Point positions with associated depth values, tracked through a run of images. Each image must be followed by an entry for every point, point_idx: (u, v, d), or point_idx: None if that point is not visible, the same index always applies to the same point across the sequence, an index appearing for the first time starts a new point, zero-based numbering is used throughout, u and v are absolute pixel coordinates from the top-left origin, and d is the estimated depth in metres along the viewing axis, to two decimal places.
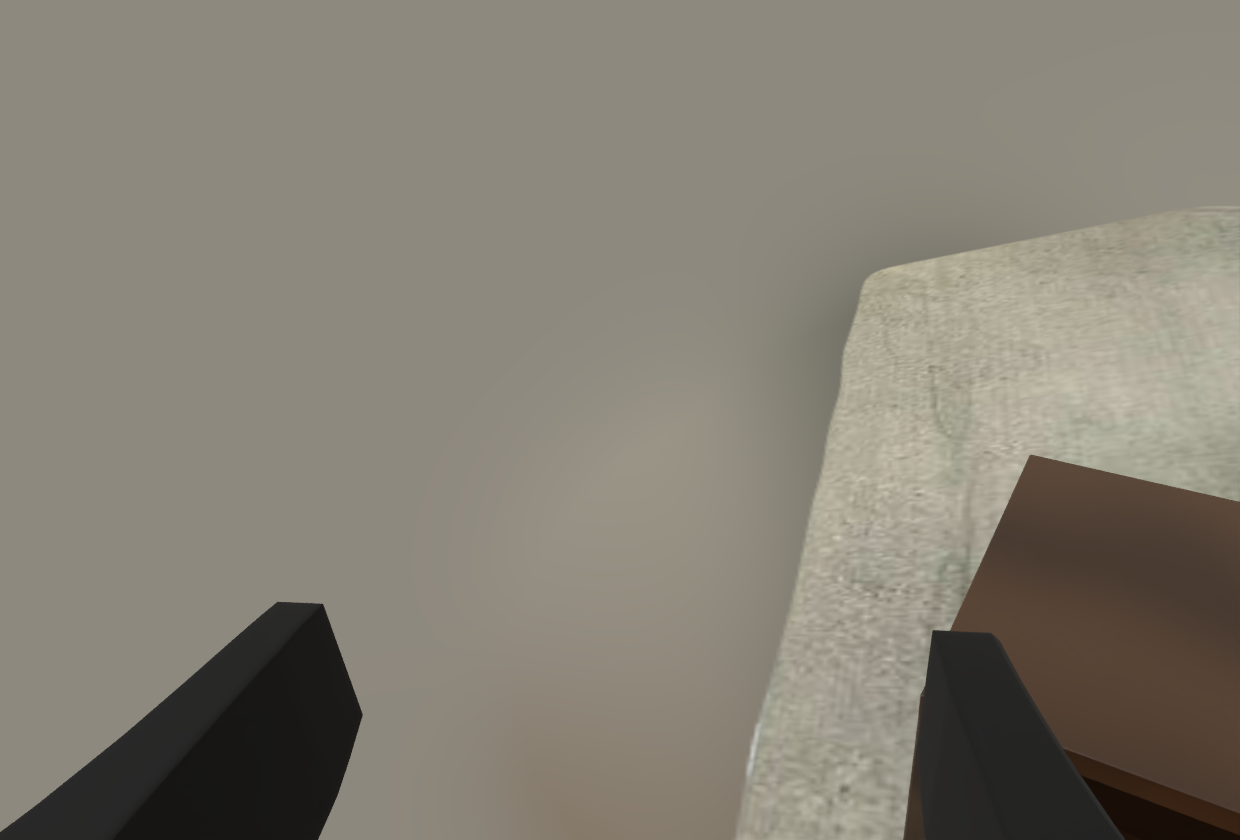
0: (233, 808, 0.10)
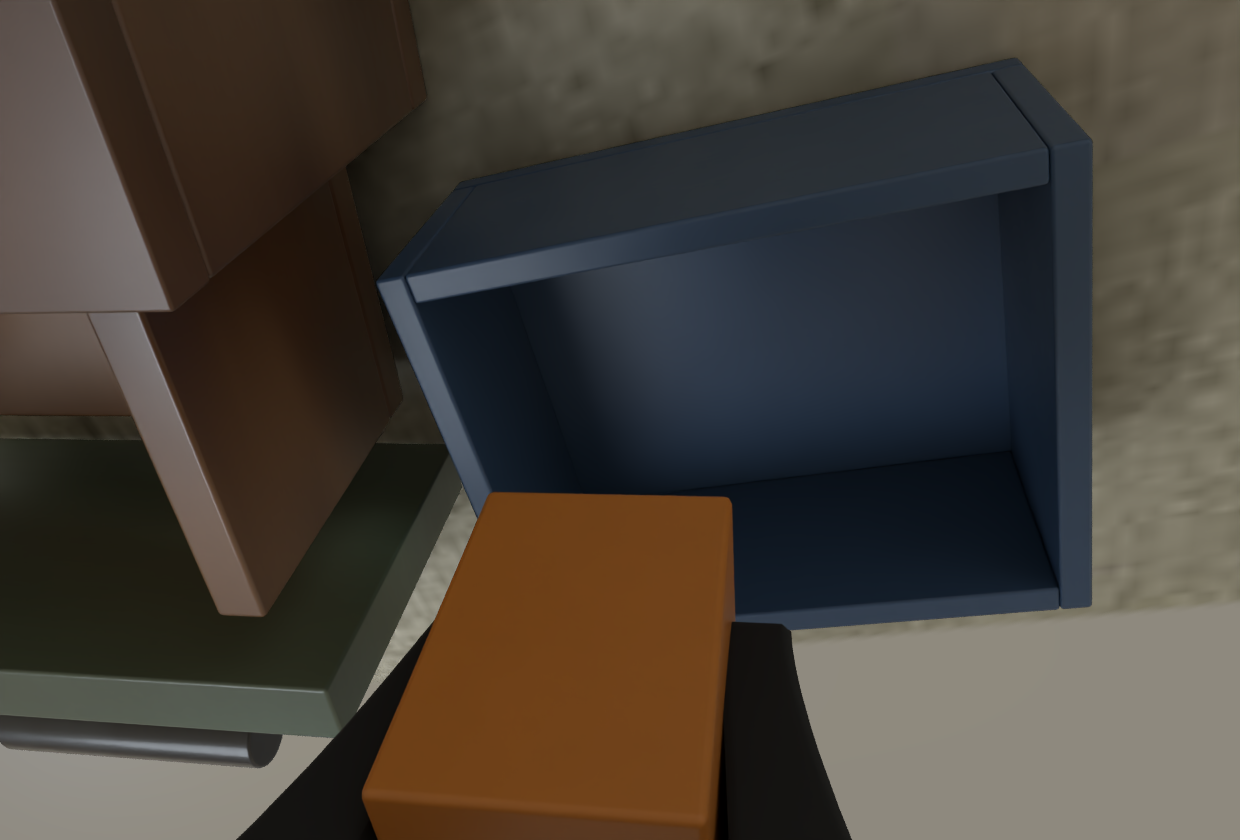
0: None
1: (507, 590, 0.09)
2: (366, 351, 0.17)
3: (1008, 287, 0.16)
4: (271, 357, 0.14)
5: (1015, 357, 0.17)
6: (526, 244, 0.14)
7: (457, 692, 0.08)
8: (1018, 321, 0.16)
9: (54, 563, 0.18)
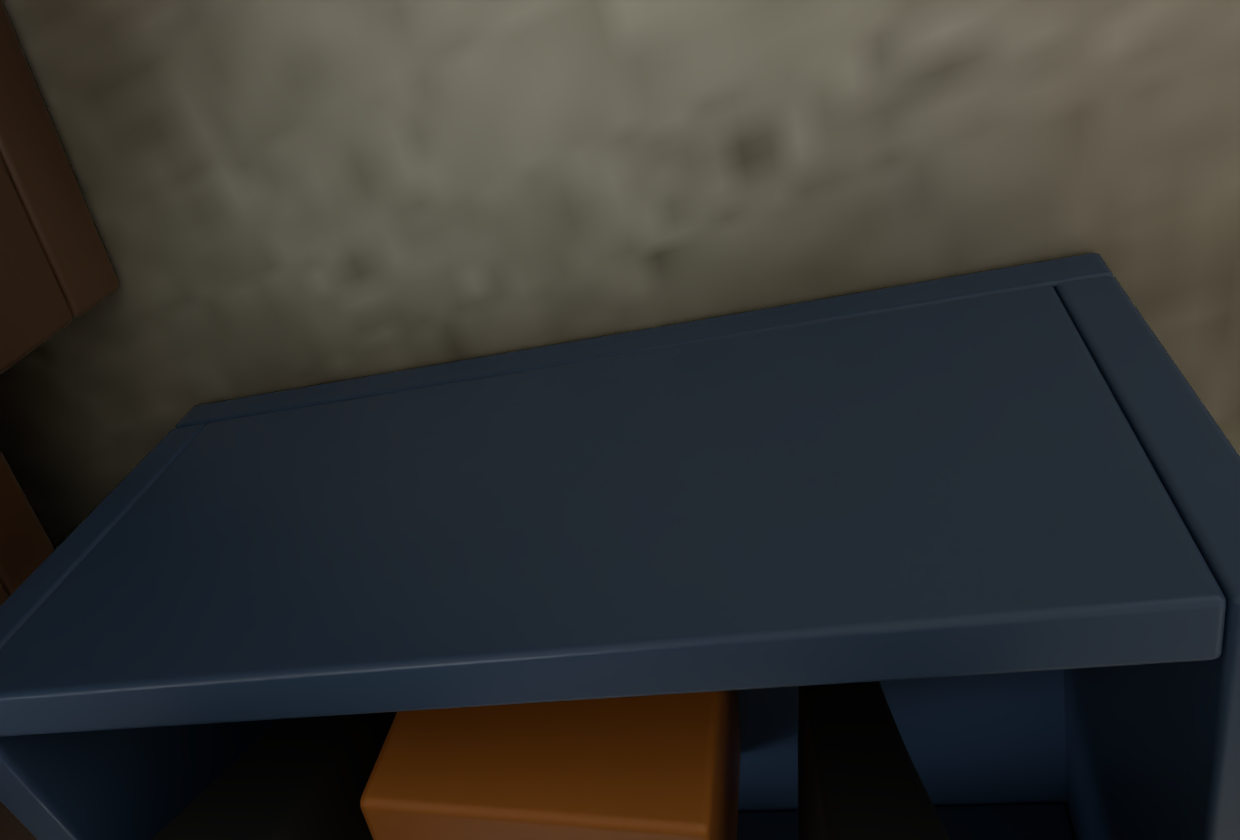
0: (361, 818, 0.09)
1: None
2: None
3: None
4: None
5: (1084, 722, 0.10)
6: (168, 656, 0.07)
7: None
8: (1096, 696, 0.09)
9: None
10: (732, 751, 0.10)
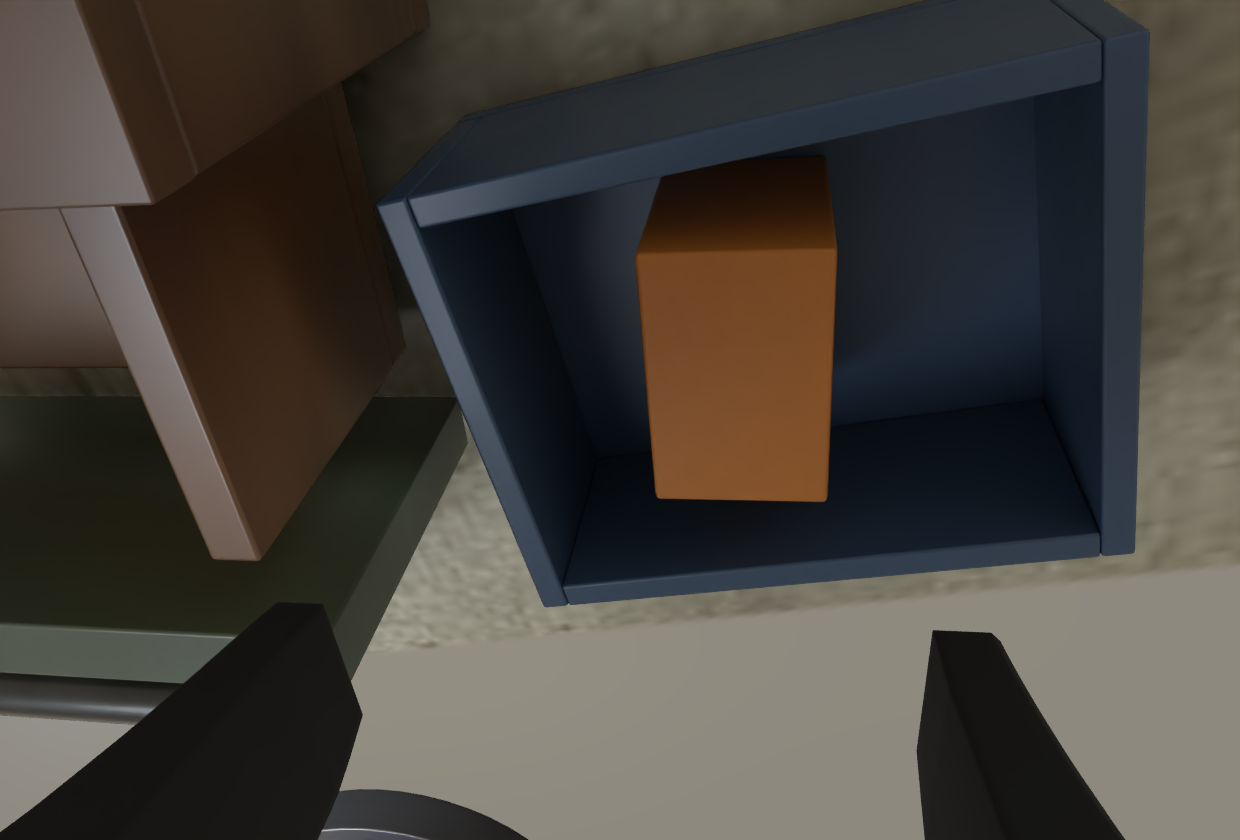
0: (233, 808, 0.10)
1: (693, 192, 0.15)
2: (367, 293, 0.17)
3: (1044, 218, 0.15)
4: (266, 286, 0.13)
5: (1051, 293, 0.16)
6: (536, 161, 0.13)
7: (678, 223, 0.14)
8: (1056, 252, 0.15)
9: (42, 517, 0.17)
10: None
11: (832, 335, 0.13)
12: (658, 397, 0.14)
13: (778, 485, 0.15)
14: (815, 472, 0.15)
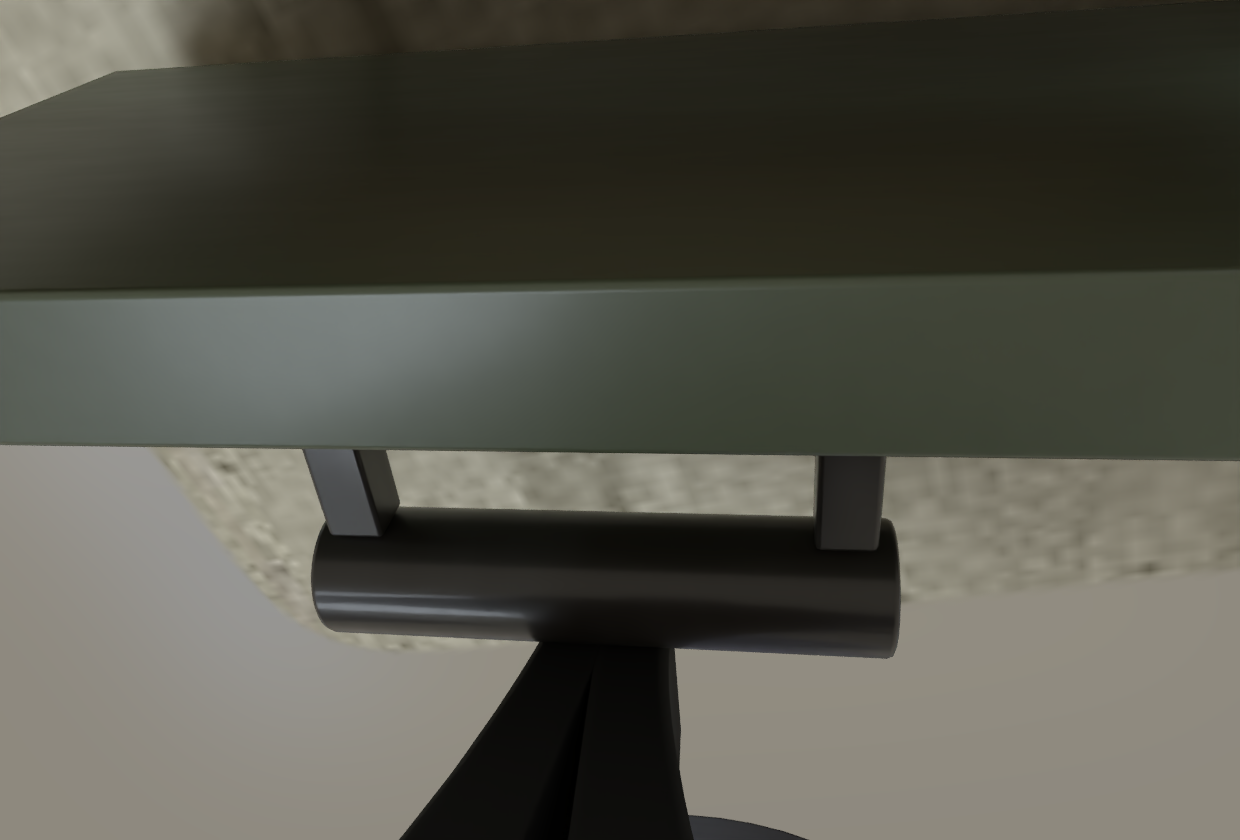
0: (566, 836, 0.09)
1: None
2: None
3: None
4: None
5: None
6: None
7: None
8: None
9: (544, 147, 0.07)
10: None
11: None
12: None
13: None
14: None
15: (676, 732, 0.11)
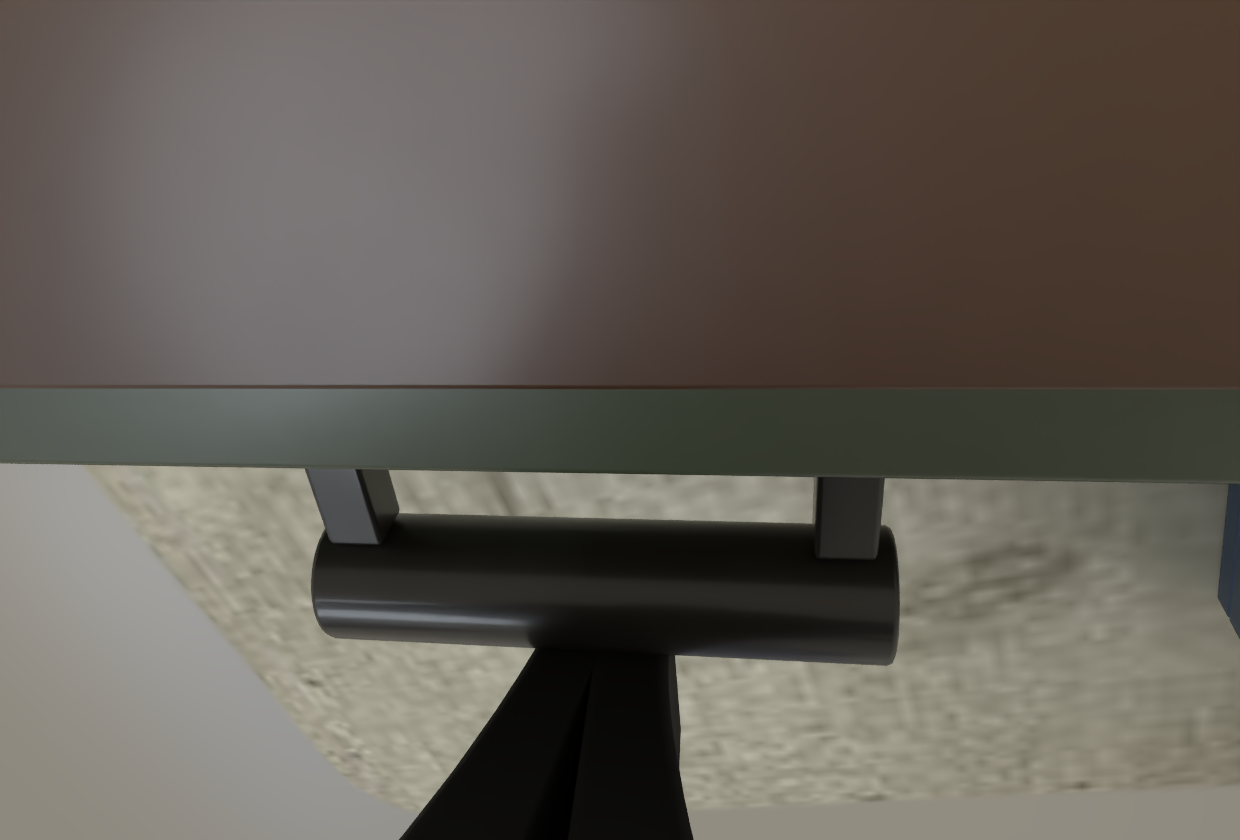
0: (566, 835, 0.09)
1: None
2: None
3: None
4: None
5: None
6: None
7: None
8: None
9: None
10: None
11: None
12: None
13: None
14: None
15: (676, 732, 0.11)
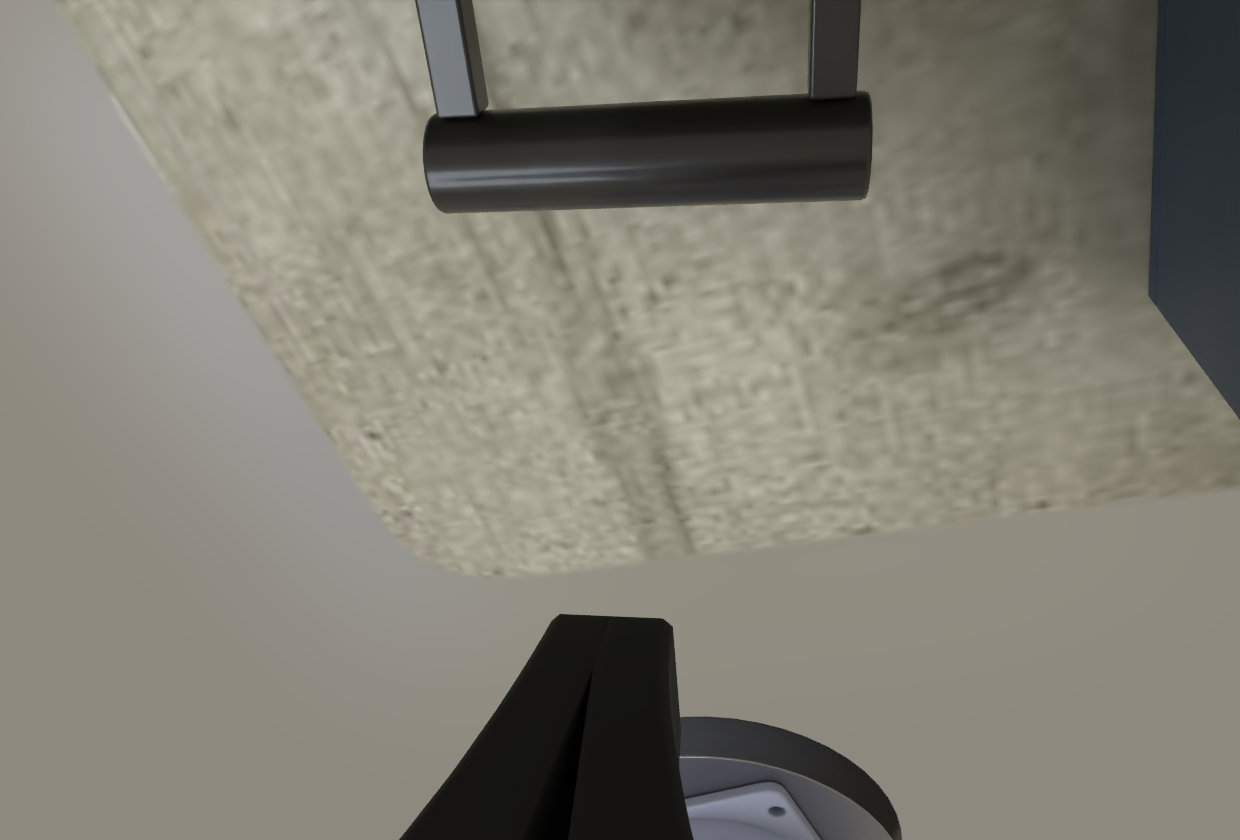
0: (565, 835, 0.09)
1: None
2: None
3: None
4: None
5: None
6: None
7: None
8: None
9: None
10: None
11: None
12: None
13: None
14: None
15: (676, 732, 0.11)
